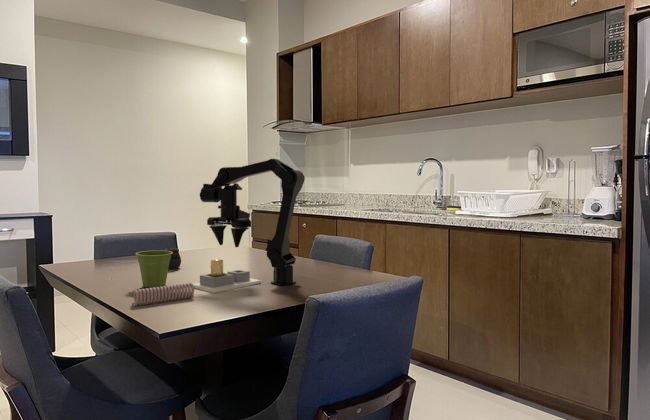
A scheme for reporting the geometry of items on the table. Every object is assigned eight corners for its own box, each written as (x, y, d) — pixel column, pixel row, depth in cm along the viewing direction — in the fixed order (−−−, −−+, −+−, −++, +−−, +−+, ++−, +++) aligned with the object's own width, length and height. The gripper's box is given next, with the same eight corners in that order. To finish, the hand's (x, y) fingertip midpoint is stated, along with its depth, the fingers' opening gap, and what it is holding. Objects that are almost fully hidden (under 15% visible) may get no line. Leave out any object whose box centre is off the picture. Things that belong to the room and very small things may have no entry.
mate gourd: (183, 267, 202) (183, 242, 201) (178, 270, 194) (178, 245, 194) (165, 267, 201) (165, 243, 201) (160, 270, 194) (159, 245, 193)
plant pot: (134, 290, 157) (133, 255, 156) (137, 283, 168) (137, 250, 168) (172, 288, 160) (172, 254, 159) (173, 281, 171) (173, 249, 171)
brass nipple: (225, 284, 163) (225, 260, 162) (215, 285, 160) (215, 261, 159) (218, 282, 165) (218, 258, 165) (208, 284, 162) (208, 260, 162)
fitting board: (261, 283, 169) (260, 271, 169) (212, 292, 154) (212, 280, 154) (239, 278, 177) (239, 267, 177) (191, 287, 162) (191, 275, 162)
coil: (190, 282, 150) (129, 289, 139) (196, 282, 146) (134, 290, 136) (191, 297, 150) (130, 305, 139) (197, 298, 146) (135, 307, 135)
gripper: (262, 202, 174) (263, 246, 175) (230, 201, 187) (231, 242, 188) (238, 203, 166) (238, 249, 167) (206, 202, 178) (206, 244, 179)
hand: (228, 246), depth 175 cm, fingers open, 9 cm apart
